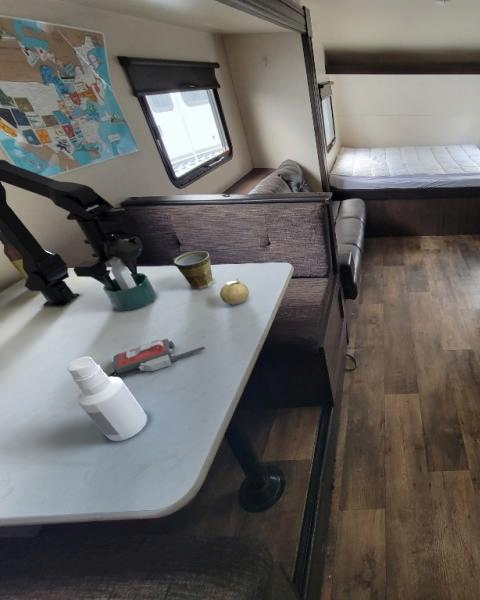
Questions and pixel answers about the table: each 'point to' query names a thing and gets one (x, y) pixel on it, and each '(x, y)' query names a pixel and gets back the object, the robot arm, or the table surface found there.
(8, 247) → the sauce bottle
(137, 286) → the canister
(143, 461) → the table surface
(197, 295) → the table surface
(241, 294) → the onion
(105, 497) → the table surface
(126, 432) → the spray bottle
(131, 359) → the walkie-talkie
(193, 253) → the ceramic cup
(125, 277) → the eye dropper bottle
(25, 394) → the table surface
